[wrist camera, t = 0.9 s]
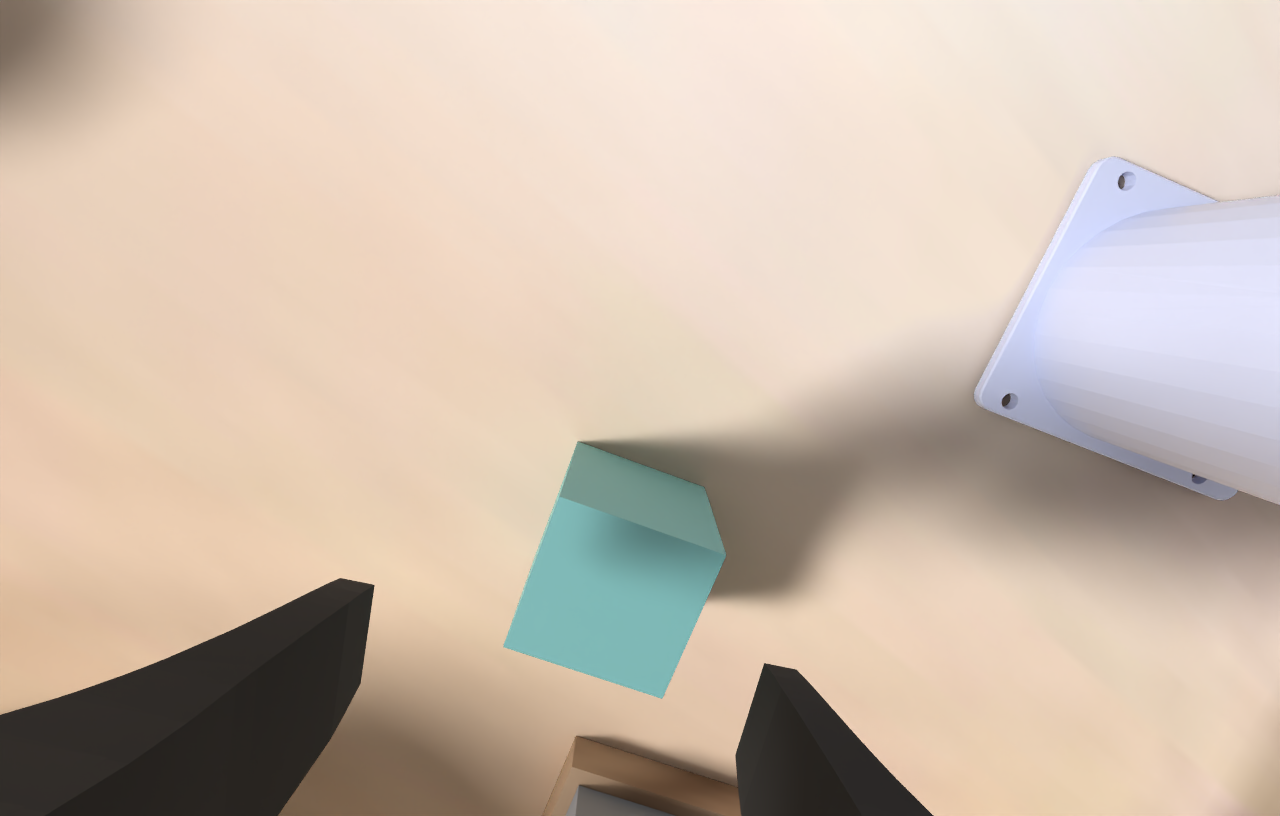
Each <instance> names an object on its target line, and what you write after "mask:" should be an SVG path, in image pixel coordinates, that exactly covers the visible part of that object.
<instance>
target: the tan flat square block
mask: <svg viewBox="0 0 1280 816" xmlns="http://www.w3.org/2000/svg"><path fill="white" fill-rule="evenodd" d="M579 785H580V786H583V787H586V788H589V789H592V790H596V791H599V792H602V793H605V794H608V795H611V796H615V797H618V798H621V799H624V800H627V801H631V802H634V803H637V804H640V805H643V806H647V807H650V808H653V809H656V810H659V811H663V812H666V813H669V814H672V815H675V816H741V811H740V801H739V792H738V787H735V786H732V785H729V784H726V783H722V782H719V781H716V780H713V779H710V778H707V777H704V776H701V775H697V774H694V773H691V772H688V771H685V770H682V769H679V768H675V767H672V766H669V765H666V764H663V763H660V762H657V761H654V760H650V759H647V758H644V757H641V756H638V755H635V754H632V753H628V752H625V751H622V750H619V749H616V748H613V747H610V746H607V745H603V744H600V743H597V742H594V741H591V740H588V739H585V738H581V737H578V736H576V737H575V739H574V742H573V744H572V747H571V749H570V751H569V754H568V756H567V758H566V761H565V763H564V765H563V768H562V770H561V773H560V775H559V777H558V780H557V782H556V784H555V787H554V789H553V792H552V794H551V796H550V799H549V801H548V803H547V806H546V808H545V810H544V813H543V815H542V816H566V813H567V811H568V809H569V806H570V804H571V802H572V800H573V797H574V795H575V793H576V790H577V788H578V786H579Z"/></svg>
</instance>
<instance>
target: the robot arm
mask: <svg viewBox="0 0 1280 816" xmlns="http://www.w3.org/2000/svg"><path fill="white" fill-rule="evenodd" d="M1121 175H1122V176H1124V178H1125V185H1124V187H1123V188H1122V190H1121V189H1120V188H1119V186H1118V179H1119V177H1120V176H1121ZM1009 393H1010V396H1011V399H1010V402H1009V403H1008V404H1007V405H1006V406H1004V407H1003V406H1002V403H1001V402H1002V398H1003V397H1004V396H1005V395H1007V394H1009ZM974 400H975V402H976V403H977V405H978V406H980V407H981V408H984V409H986V410H989V411H991V412H994V413H996V414H999V415H1001V416H1004V417H1007V418H1009V419H1012V420H1014V421H1017V422H1019V423H1022V424H1024V425H1027V426H1029V427H1032V428H1035V429H1037V430H1040V431H1042V432H1045V433H1047V434H1050V435H1052V436H1055V437H1058V438H1060V439H1063V440H1065V441H1068V442H1070V443H1073V444H1075V445H1078V446H1081V447H1083V448H1086V449H1088V450H1091V451H1093V452H1096V453H1098V454H1101V455H1104V456H1106V457H1109V458H1111V459H1114V460H1116V461H1119V462H1121V463H1124V464H1127V465H1129V466H1132V467H1134V468H1137V469H1139V470H1142V471H1144V472H1147V473H1149V474H1152V475H1155V476H1157V477H1160V478H1162V479H1165V480H1167V481H1170V482H1172V483H1175V484H1178V485H1180V486H1183V487H1185V488H1188V489H1190V490H1193V491H1195V492H1198V493H1201V494H1203V495H1206V496H1208V497H1211V498H1213V499H1216V500H1221V501H1222V500H1227V499H1229V498H1231V497H1233V496H1234V495H1235V494H1236V493H1237V492H1238V490H1239V491H1242V492H1245V493H1247V494H1250V495H1253V496H1256V497H1258V498H1261V499H1264V500H1267V501H1269V502H1272V503H1275V504H1278V505H1280V195H1275V196H1267V197H1259V198H1250V199H1242V200H1233V201H1225V202H1219V201H1216V200H1214V199H1212V198H1210V197H1207V196H1205V195H1203V194H1201V193H1198V192H1196V191H1194V190H1192V189H1189V188H1187V187H1185V186H1183V185H1180V184H1178V183H1176V182H1174V181H1171V180H1169V179H1167V178H1164V177H1162V176H1160V175H1158V174H1155V173H1153V172H1151V171H1149V170H1146V169H1144V168H1142V167H1140V166H1137V165H1135V164H1133V163H1131V162H1128V161H1126V160H1124V159H1122V158H1119V157H1109V158H1105V159H1101V160H1098V161H1096V162H1095V163H1093V164H1092V165H1091V167H1090V168H1089V169H1088V171H1087V173H1086V175H1085V177H1084V179H1083V181H1082V183H1081V185H1080V187H1079V189H1078V191H1077V193H1076V194H1075V196H1074V198H1073V200H1072V202H1071V204H1070V206H1069V208H1068V210H1067V212H1066V214H1065V216H1064V218H1063V220H1062V222H1061V224H1060V226H1059V227H1058V229H1057V231H1056V233H1055V235H1054V237H1053V239H1052V241H1051V243H1050V245H1049V247H1048V249H1047V251H1046V253H1045V255H1044V257H1043V259H1042V260H1041V262H1040V264H1039V266H1038V268H1037V270H1036V272H1035V274H1034V276H1033V278H1032V280H1031V282H1030V284H1029V286H1028V288H1027V290H1026V292H1025V293H1024V295H1023V297H1022V299H1021V301H1020V303H1019V305H1018V307H1017V309H1016V311H1015V313H1014V315H1013V317H1012V319H1011V321H1010V323H1009V325H1008V326H1007V328H1006V330H1005V332H1004V334H1003V336H1002V338H1001V340H1000V342H999V344H998V346H997V348H996V350H995V352H994V354H993V356H992V357H991V359H990V361H989V363H988V365H987V367H986V369H985V371H984V373H983V375H982V377H981V379H980V381H979V383H978V385H977V387H976V389H975V392H974ZM1193 474H1195V476H1194V477H1193V478H1192V475H1193ZM373 592H374V585H372V584H367V583H362V582H357V581H352V580H347V579H342V578H340V579H337V580H335V581H333V582H330V583H328V584H326V585H324V586H322V587H320V588H318V589H316V590H314V591H311V592H309V593H307V594H305V595H303V596H301V597H299V598H297V599H295V600H293V601H291V602H289V603H287V604H285V605H283V606H281V607H279V608H277V609H275V610H273V611H271V612H269V613H267V614H264V615H262V616H260V617H258V618H256V619H254V620H252V621H250V622H248V623H246V624H244V625H242V626H239V627H237V628H235V629H233V630H231V631H229V632H226V633H224V634H222V635H219V636H217V637H215V638H212V639H210V640H208V641H206V642H203V643H201V644H199V645H196V646H194V647H192V648H189V649H187V650H185V651H183V652H180V653H178V654H176V655H173V656H171V657H169V658H166V659H164V660H161V661H159V662H156V663H154V664H151V665H149V666H146V667H144V668H141V669H138V670H136V671H133V672H131V673H128V674H125V675H123V676H120V677H117V678H114V679H111V680H109V681H106V682H103V683H100V684H97V685H94V686H92V687H89V688H86V689H83V690H80V691H77V692H74V693H71V694H68V695H65V696H62V697H59V698H56V699H52V700H49V701H46V702H42V703H39V704H36V705H32V706H29V707H25V708H22V709H19V710H15V711H12V712H9V713H5V714H2V715H0V816H278V814H279V813H280V811H281V810H282V809H283V807H284V806H285V804H286V803H287V801H288V800H289V799H290V797H291V796H292V794H293V793H294V791H295V790H296V789H297V787H298V786H299V784H300V783H301V781H302V780H303V778H304V777H305V776H306V774H307V773H308V771H309V770H310V768H311V767H312V765H313V764H314V762H315V761H316V760H317V758H318V757H319V755H320V754H321V752H322V751H323V749H324V748H325V746H326V745H327V743H328V742H329V740H330V739H331V737H332V735H333V734H334V732H335V730H336V728H337V726H338V725H339V723H340V721H341V719H342V717H343V716H344V714H345V712H346V710H347V708H348V706H349V704H350V702H351V700H352V698H353V697H354V695H355V693H356V691H357V689H358V687H359V685H360V683H361V676H362V669H363V662H364V655H365V648H366V641H367V634H368V627H369V620H370V613H371V606H372V599H373ZM736 767H737V780H738V792H739V801H740V811H741V816H933V815H932V814H931V813H930V812H929V811H928V810H927V809H926V808H925V807H924V806H923V805H922V804H921V803H920V802H919V801H918V800H917V799H916V798H915V797H914V796H913V795H912V794H911V793H910V792H909V791H908V790H907V789H906V788H905V787H904V786H903V785H902V784H901V783H900V782H899V781H898V780H897V779H896V778H895V777H894V776H893V775H892V774H891V773H890V772H889V771H888V770H887V768H886V767H885V766H884V765H883V764H882V763H881V762H880V761H879V760H878V759H877V758H876V757H875V756H874V755H873V754H872V752H871V751H870V750H869V749H868V748H867V747H866V746H865V745H864V744H863V743H862V742H861V740H860V739H859V738H858V737H857V736H856V735H855V734H854V733H853V732H852V730H851V729H850V728H849V727H848V726H847V725H846V724H845V723H844V721H843V720H842V719H841V718H840V717H839V716H838V715H837V714H836V712H835V711H834V710H833V709H832V708H831V707H830V706H829V704H828V703H827V702H826V701H825V700H824V699H823V698H822V697H821V695H820V694H819V693H818V692H817V691H816V690H815V689H814V688H813V687H812V685H811V684H810V683H809V682H808V681H807V680H806V679H805V678H804V677H803V676H802V675H801V674H800V673H799V672H798V671H797V670H795V669H790V668H785V667H780V666H775V665H770V664H765V663H764V666H763V669H762V672H761V676H760V679H759V682H758V685H757V688H756V692H755V695H754V698H753V701H752V704H751V707H750V711H749V714H748V717H747V720H746V723H745V727H744V730H743V733H742V736H741V739H740V742H739V746H738V749H737V752H736Z"/></svg>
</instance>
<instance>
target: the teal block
mask: <svg viewBox="0 0 1280 816" xmlns="http://www.w3.org/2000/svg"><path fill="white" fill-rule="evenodd" d="M725 557H726V552H725V549H724V546H723V543H722V540H721V537H720V534H719V531H718V528H717V525H716V521H715V518H714V515H713V512H712V509H711V506H710V503H709V500H708V497H707V494H706V491H705V488H704V487H703V486H700V485H697V484H694V483H691V482H689V481H686V480H683V479H680V478H678V477H675V476H672V475H669V474H667V473H664V472H661V471H658V470H656V469H653V468H650V467H647V466H644V465H642V464H639V463H636V462H633V461H631V460H628V459H625V458H622V457H620V456H617V455H614V454H611V453H609V452H606V451H603V450H600V449H597V448H595V447H592V446H589V445H586V444H584V443H581V442H577V445H576V448H575V450H574V453H573V456H572V458H571V461H570V464H569V466H568V469H567V472H566V475H565V477H564V480H563V483H562V485H561V488H560V491H559V493H558V496H557V499H556V501H555V504H554V507H553V509H552V512H551V515H550V518H549V520H548V523H547V526H546V528H545V531H544V534H543V536H542V539H541V542H540V544H539V547H538V550H537V552H536V555H535V558H534V561H533V563H532V566H531V569H530V572H529V575H528V578H527V581H526V583H525V586H524V589H523V592H522V595H521V598H520V601H519V603H518V606H517V609H516V612H515V615H514V618H513V620H512V623H511V626H510V629H509V632H508V635H507V638H506V640H505V643H504V646H503V647H505V648H508V649H511V650H514V651H517V652H520V653H523V654H526V655H530V656H533V657H536V658H539V659H542V660H545V661H548V662H551V663H554V664H557V665H560V666H563V667H566V668H569V669H573V670H576V671H579V672H582V673H585V674H588V675H591V676H594V677H597V678H600V679H603V680H606V681H609V682H612V683H615V684H619V685H622V686H625V687H628V688H631V689H634V690H637V691H640V692H643V693H646V694H649V695H652V696H655V697H658V698H663V696H664V693H665V691H666V689H667V687H668V685H669V682H670V680H671V678H672V676H673V673H674V671H675V669H676V667H677V664H678V662H679V660H680V658H681V656H682V653H683V651H684V649H685V647H686V644H687V642H688V640H689V638H690V635H691V633H692V631H693V629H694V627H695V624H696V622H697V620H698V618H699V615H700V613H701V611H702V609H703V606H704V604H705V602H706V600H707V598H708V595H709V593H710V591H711V589H712V586H713V584H714V582H715V580H716V577H717V575H718V573H719V571H720V569H721V566H722V564H723V562H724V560H725Z"/></svg>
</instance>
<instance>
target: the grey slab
mask: <svg viewBox="0 0 1280 816" xmlns="http://www.w3.org/2000/svg"><path fill="white" fill-rule="evenodd" d="M566 816H675V815H672V814H669V813H666V812H663V811H659V810H656V809H653V808H650V807H647V806H643V805H640V804H637V803H634V802H631V801H627V800H624V799H621V798H618V797H615V796H611V795H608V794H605V793H602V792H599V791H596V790H592V789H589V788H586V787H583V786H580V785H579V786H578V788H577V790H576V793H575V795H574V797H573V800H572V802H571V804H570V806H569V809H568V811H567V813H566Z"/></svg>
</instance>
